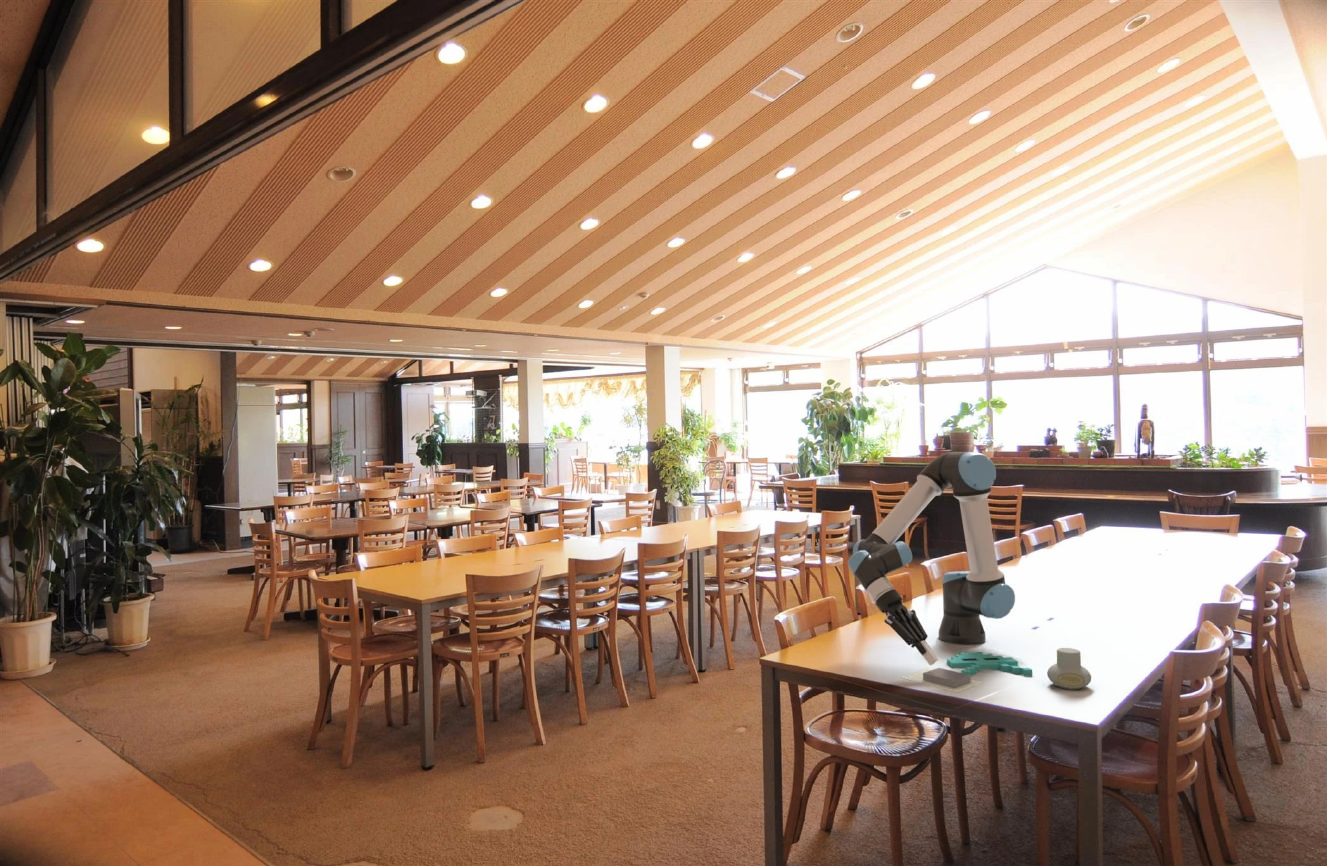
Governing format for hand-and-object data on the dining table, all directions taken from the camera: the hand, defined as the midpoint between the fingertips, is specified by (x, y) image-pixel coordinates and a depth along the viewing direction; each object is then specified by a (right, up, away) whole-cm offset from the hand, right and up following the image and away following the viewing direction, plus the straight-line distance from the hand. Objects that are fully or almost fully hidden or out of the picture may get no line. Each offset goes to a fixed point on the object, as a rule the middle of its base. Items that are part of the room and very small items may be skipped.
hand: (934, 662), depth 236 cm
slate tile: (-1, -4, +1) cm, 4 cm away
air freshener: (+35, -5, -8) cm, 36 cm away
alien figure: (+19, -5, +12) cm, 23 cm away
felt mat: (+1, -5, -2) cm, 6 cm away
